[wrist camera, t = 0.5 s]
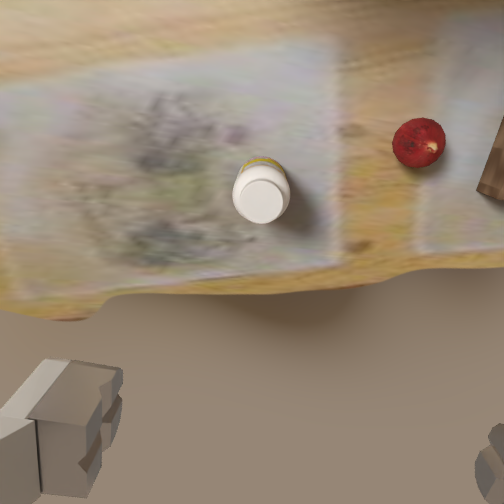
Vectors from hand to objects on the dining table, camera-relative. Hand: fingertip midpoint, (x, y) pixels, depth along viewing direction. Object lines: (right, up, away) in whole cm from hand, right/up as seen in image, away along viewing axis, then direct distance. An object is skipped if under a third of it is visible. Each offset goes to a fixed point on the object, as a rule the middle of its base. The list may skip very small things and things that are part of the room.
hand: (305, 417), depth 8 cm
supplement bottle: (0, +14, +44) cm, 46 cm away
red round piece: (+19, +18, +41) cm, 49 cm away
